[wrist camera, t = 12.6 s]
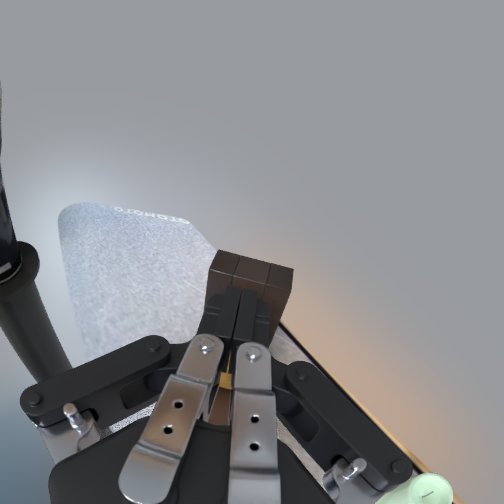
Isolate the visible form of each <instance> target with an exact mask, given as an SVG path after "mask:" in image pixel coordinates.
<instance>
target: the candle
mask: <svg viewBox="0 0 504 504" xmlns="http://www.w3.org/2000/svg"><path fill="white" fill-rule="evenodd" d="M452 500H453V492H452V488H451V486H450V484H449V483H448V482H447V480H446V479H445V478H443V477H442V476H440V475H438V474H435V473H423V474H420V475H418V476H415V477H413V478H411V479H408V480H407V481H406V482H404V483H403V484H401V485H400V486H398V487H397V488H396V489H395V490H393V491H391V492H390V493H388V494H386V495H385V496H383V497H381V498H380V499H379V500H378V501H377V502H376V503H375V504H451V503H452Z"/></svg>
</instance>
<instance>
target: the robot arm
mask: <svg viewBox="0 0 504 504" xmlns="http://www.w3.org/2000/svg"><path fill="white" fill-rule="evenodd" d="M1 139H2V137H1V84H0V156H1V147H2V140H1ZM22 264H23V259H22V255H21V253H20V251H19V247H18V244H17V240H16V237H15V233H14V229H13V225H12V221H11V217H10V213H9V209H8V204H7V199H6V194H5V189H4V183H3V178H2V171H1V164H0V285H2V284H5V283H7V282H8V281H10V280H11V279H13V278H14V277H15V276H16V275H17V274H18V273H19V271H20V270H21V268H22ZM241 293H242V297H241ZM257 294H258V290H254V289H248V288H243V292H242V287H237V286H231V285H227V289H226V292H225V295H223V294H218V293H215V294H214V295H212V296H211V297H210V298H209V300H208V302H207V305H206V308H205V311H204V314H203V316H202V319H201V322H200V325H199V328H198V331H197V334H196V336H195V337H194V338H193V339H192V340H190V341H188V342H186V343H182V344H169V342H168V341H167V340H166V339H165V338H163V337H161V336H157V335H150V336H146V337H144V338H141V339H139V340H137V341H135V342H133V343H130V344H128V345H126V346H124V347H121V348H119V349H117V350H115V351H112V352H110V353H108V354H106V355H103V356H101V357H99V358H97V359H94V360H92V361H90V362H87V363H85V364H83V365H80V366H78V367H76V368H73V369H71V370H69V371H66V372H64V373H62V374H59V375H57V376H54V377H52V378H50V379H47V380H45V381H42V382H40V383H38V384H35V385H33V386H30V387H28V388H27V389H25V390H24V391H23V393H22V395H21V397H20V405H21V407H22V409H23V411H24V412H25V413H26V415H27V416H28V417H29V418H30V420H31V421H32V422H33V423H34V424H35V426H36V427H37V428H38V429H39V431H40V433H41V436H42V438H43V440H44V442H45V444H46V447H47V449H48V451H49V453H50V455H51V457H52V459H53V460H54V462H55V467H54V468H53V469H52V471H51V474H50V477H49V485H48V486H49V493H50V500H51V504H375V503H376V502H377V501H378V500H379V499H380V498H381V497H383V496H385V495H386V494H388V493H390V492H391V491H393V490H395V489H396V488H397V487H398V486H400V485H401V484H403V483H404V482H406V481H407V480H408V479H409V478H410V477H411V475H412V471H413V466H412V462H411V460H410V459H409V458H408V457H407V456H406V455H405V454H404V453H403V452H402V451H401V450H400V449H399V448H398V447H397V446H396V445H394V444H393V443H392V442H391V441H390V440H389V439H388V438H387V437H386V436H385V435H384V434H383V433H382V432H381V431H380V430H379V429H378V428H377V427H376V426H375V425H374V424H372V423H371V422H370V421H369V420H368V419H367V418H366V417H365V416H364V415H363V414H362V413H361V412H360V411H359V410H358V409H357V408H356V407H355V406H354V405H353V404H352V403H351V402H350V401H349V400H348V399H347V398H346V397H345V396H344V395H343V394H342V393H341V392H340V391H339V390H338V389H337V388H336V387H335V386H334V385H333V384H332V383H331V382H330V381H329V380H328V379H327V378H326V377H325V376H324V375H323V374H322V373H321V372H320V371H319V370H318V369H317V368H316V367H315V366H314V365H312V364H311V363H308V362H305V361H296V362H293V363H291V364H290V365H286V364H284V363H281V362H279V361H277V360H276V359H274V358H273V357H272V356H271V354H270V351H269V350H268V341H269V328H270V314H271V309H270V307H269V305H268V303H267V302H263V301H257ZM240 300H241V302H240ZM230 353H231V355H230ZM229 358H230V362H229ZM228 363H229V369H228V374H232V375H231V382H230V384H231V393H230V405H229V417H228V425H212V424H210V423H208V420H209V417H210V414H211V411H212V408H213V404H214V401H215V398H216V395H217V392H218V389H219V385H220V377H221V373H227V368H228ZM155 402H157V403H156V405H155V407H154V409H153V411H152V413H151V416H147V417H143V418H141V419H138V420H136V421H134V422H132V423H131V424H129V425H127V426H125V427H124V428H122V429H120V430H118V431H117V432H115V433H113V434H111V435H109V436H108V437H106V438H104V439H102V440H100V441H98V440H99V438H100V431H101V430H103V429H105V428H107V427H109V426H111V425H113V424H115V423H117V422H119V421H121V420H123V419H125V418H127V417H129V416H131V415H133V414H135V413H136V412H138V411H140V410H142V409H144V408H146V407H148V406H150V405H151V404H153V403H155ZM276 416H277V417H278V419H279V420H280V421H281V422H282V423H283V425H284V426H285V427H286V428H287V429H288V431H289V432H290V433H291V434H292V435H293V437H294V438H295V439H296V440H297V441H298V442H299V444H300V445H301V446H302V447H303V448H304V449H305V450H306V452H307V453H308V454H309V455H310V456H311V457H312V458H313V459H314V461H315V462H316V463H317V464H318V465H319V466H320V467H321V468H322V469H323V470H324V472H325V474H324V476H323V485H324V488H325V489H326V491H327V492H328V494H327V492H326V491H325V490H324V489H323V488H322V487H321V485H320V484H319V483H318V482H317V481H316V479H315V478H314V477H313V476H312V475H311V473H310V472H309V471H308V470H307V469H306V467H305V466H304V465H303V464H302V462H301V461H300V460H299V459H298V457H297V456H296V455H295V454H294V452H293V451H292V450H291V449H290V448H289V447H288V446H287V445H286V444H285V443H283V442H282V441H280V440H279V439H277V426H276ZM97 441H98V442H97Z"/></svg>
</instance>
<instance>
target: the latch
mask: <svg viewBox="0 0 504 504" xmlns="http://www.w3.org/2000/svg"><path fill="white" fill-rule="evenodd" d="M293 271H294V269H292V268H288V267H284V266H280V265H276V264H273V263H268V262H264V261H260V260H257V259H252V258H249V257H245V256H240V255H237V254H233V253H230V252H226V251H222V250H218V251H217V253H216V255H215V257H214V259H213V262H212V264H211V266H210V268H209V272H208V280H207V288H206V296H205V305H204V311H205V308H206V305H207V302H208V300H209V298H210V297H211V296H212V295H214V294H215V293H218V294H223V295H225V292H226V289H227V285H231V286H237V287H242V292H243V288H248V289H254V290H258V294H257V301H263V302H267V303H268V305H269V307H270V309H271V314H270V328H269V341H268V349H269V346H270V344H271V341H272V339H273V336H274V334H275V331H276V329H277V326H278V324H279V321H280V319H281V316H282V313H283V311H284V308H285V306H286V303H287V301H288V298H289V296H290V293H291V289H292V280H293ZM241 297H242V293H241ZM240 302H241V300H240ZM230 393H231V390H230V389H226V388H223V387H219V389H218V392H217V395H216V398H215V401H214V404H213V408H212V411H211V414H210V417H209V420H208V423H210V424H212V425H228V417H229V405H230Z"/></svg>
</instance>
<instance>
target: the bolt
mask: <svg viewBox="0 0 504 504" xmlns="http://www.w3.org/2000/svg"><path fill="white" fill-rule="evenodd" d="M230 355H231V353H230ZM229 362H230V358H229ZM228 369H229V363H228V368H227V373H221V377H220V385H219V387H223V388H226V389H230V390H231V384H230V382H231V375H232V374H228Z"/></svg>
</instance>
